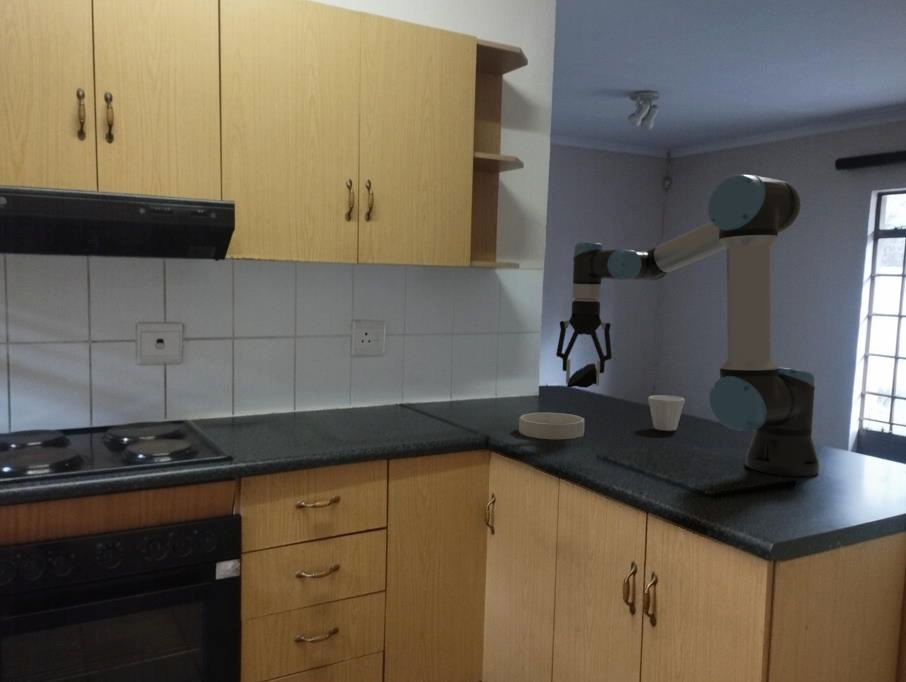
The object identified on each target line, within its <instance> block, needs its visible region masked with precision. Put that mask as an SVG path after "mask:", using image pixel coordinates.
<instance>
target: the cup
mask: <svg viewBox="0 0 906 682" xmlns="http://www.w3.org/2000/svg"><path fill="white" fill-rule="evenodd" d="M647 401H648V404H649V409H650V415H651V420H652V424H653V428H654V430H656V431H659V432H666V433H667V432H668V433H669V432H672V433H673V432H675V431H677V429H678V425H679V422H680V419H681V414H682V411H683V407H684V404H685V398H684V397H681V396H675V395H666V394H664V395H663V394H661V395H660V394H659V395H658V394H657V395H649V396H648V398H647Z"/></svg>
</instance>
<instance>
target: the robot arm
mask: <svg viewBox="0 0 906 682" xmlns="http://www.w3.org/2000/svg"><path fill="white" fill-rule="evenodd" d="M800 210H801V198H800V196H799V193H798V191H797V190H796V189H795V188H794V186H793V185H792V184H790V183H789V182H787V181H785V180H782V179H777V178H770V177H764V176H759V175H756V174H751V173H749V174H733V175H730V176H727V177H726V178H724V179H723V180H721V182H719V183H718V185H717V186H716V187H714V189H713V190H712V192H711V194H710V197H709V199H708V204H707V213H708V217H709V220H710V222H707V223H705V224H703V225H700V226H699V227H697V228H694V229H692V230H690V231H687V232H686V233H683V234H681V235H678V236H677V237H674V238H672V239H670V240H668V241H666V242H663V243H661V244H660V245H657V246H655V247H653V248H650V249H647V250H632V249H626V248H625V249H624V248H620V249H605V250H604V248H603V244H602V243H600V242H578V243H576V244H575V246H574V251H573V257H572V258H573V259H572V260H573V267H572V268H573V269H572V270H573V271H572V272H573V275H572V276H573V277H572V294H571V295H572V299H574V300H573V301H571V317H570V318H569V319H567V320H561V321H560V322H559V327H560V332H559V338H558V342H557V347H556V354H555V355H556V357H558V358H560V359H562V371H563V372H565V373H566V374H565V376H566V377H565V384H566V385H567V384H568V382H569V379H570V378H571V364H572V363H571V358H569V356H570V353H571V351H572V350H573V347H574V345H575V343H576V341H577V339H578V336H579V335H581V336H582V335H586V336H591V339H592V342H593V344H594V347H595V350H596V352H597V356H598V358H599V360H596V369H597V377H596V384H595V386H598V387H599V386H600V384H601V383H600V382H601V374H603V373H604V372H605V366H606V365H605V364H606V363H605V362H606V361H608V360H611V359H612V357H613V355H612V354H613V353H612V344H611V334H610V330H611V326H612V324H611V322H605V321H602V319H601V317H600V316H601V302H600V301H599V300H600V299H601V294H602V293H601V292H602V279H609V280H619V281H620V280H624V281H626V280H639V281H640V280H644V281H645V280H647V281H648V280H649V281H657V280H658V281H659V280H664V279H665V278H667V277H668V276H669V275H670V273H671V272H673V271H675V270H678V269H680V268H683V267H685V266H687V265H690V264H693V263H694V262H695V263H696V262H697V261H700V260H702V259H704V258H707V257H710V256H712V255H714V254H717V253H719V252H722V251H724V250H726V330H727V331H726V332H727V333H726V334H727V335H726V337H727V338H726V340H727V344H726V345H727V347H726V348H727V349H726V351H727V353H726V354H727V356H726V357H727V358H726V360H725V361H724V362H723V363H722V364H720V366H719V379H718V380H717V381H716V382H714V385H712V386H711V389H710V391H709V401H708V402H709V406H710V408H711V411H712V414H713V415H714V417H715V418H716V419H717V420H718V421H719V423H720V424H721V425H723V426H724V427H726V428H727V429H730V430H733V431H739V432H740V431H741V432H743V431H746V432H752V431H754V435H753V437H752V439H751V441H750V444H749V446H748V449H747V452H746V455H745V466H746V467H748V468H749V469H751V470H753V471H757V472H760V473H764V474H769V475H774V476H775V475H776V476H785V477H811V476H815V475H818V473H819V470H820V468H819V467H820V463H819V458H818V455H817V452H816V447H815V446H814V441H813V438H812V437H813V436H812V433H813V416H814V401H815V399H814V398H815V391H816V386H815V375H814V374H813V373H812V372H811V371H809V370H805V369H804V370H803V369H796V368H795V369H794V368H789V367H779V366H778V365H777V364H776V363H775V362H774V361H772V357H771V356H772V355H771V246H772V244H774V243H775V242H776V240H777V239H778V238H779V237H778V234H779V233H781V232H784V231H785V230H787V229H789V227H791V226H792V225H793V224H794V222H795V221H796V220H797V218H798V216H799V214H800ZM569 325H571V327H572V328H573V333H572V335H571V338H570V340H569V343H568V344H567V347H566V349H565V351H564V352H563V349H564V343H565V339H566V333H567V329H568V328H569ZM600 326H601V328H602V330H604V333H603V334H604V343H605V352H606V355H605V353H604V352H603V349H602V346H601V344H600V343H601V342H600V340H599V337H598V334H597V330H598V329H599V327H600Z"/></svg>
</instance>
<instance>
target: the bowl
mask: <svg viewBox="0 0 906 682" xmlns="http://www.w3.org/2000/svg"><path fill="white" fill-rule="evenodd" d="M518 419H519V420H518V425H519V426H518V433H520V434H521V435H524V436H525V437H530V438H535V439H541V440H542V439H543V440H571V439H573V440H574V439H577V438H582V437H584V434H585V418H584V417H582V416H579V415H576V414H569V413H562V412H547V411H546V412H531V413H527V414H526V413H525V414H522V415H520V417H519V418H518Z"/></svg>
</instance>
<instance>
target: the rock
mask: <svg viewBox="0 0 906 682" xmlns="http://www.w3.org/2000/svg"><path fill="white" fill-rule="evenodd" d="M596 377H597V364H595V363H589V364H586V365H584V366H583V367H581V368H579V369H578V370H576V371H575V372H574V373H572V375H570V379H569V382H568V384H566V387H567V388H574V387H578V388H586V389H587V388H589V387H592V386H593V385H596Z"/></svg>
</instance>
